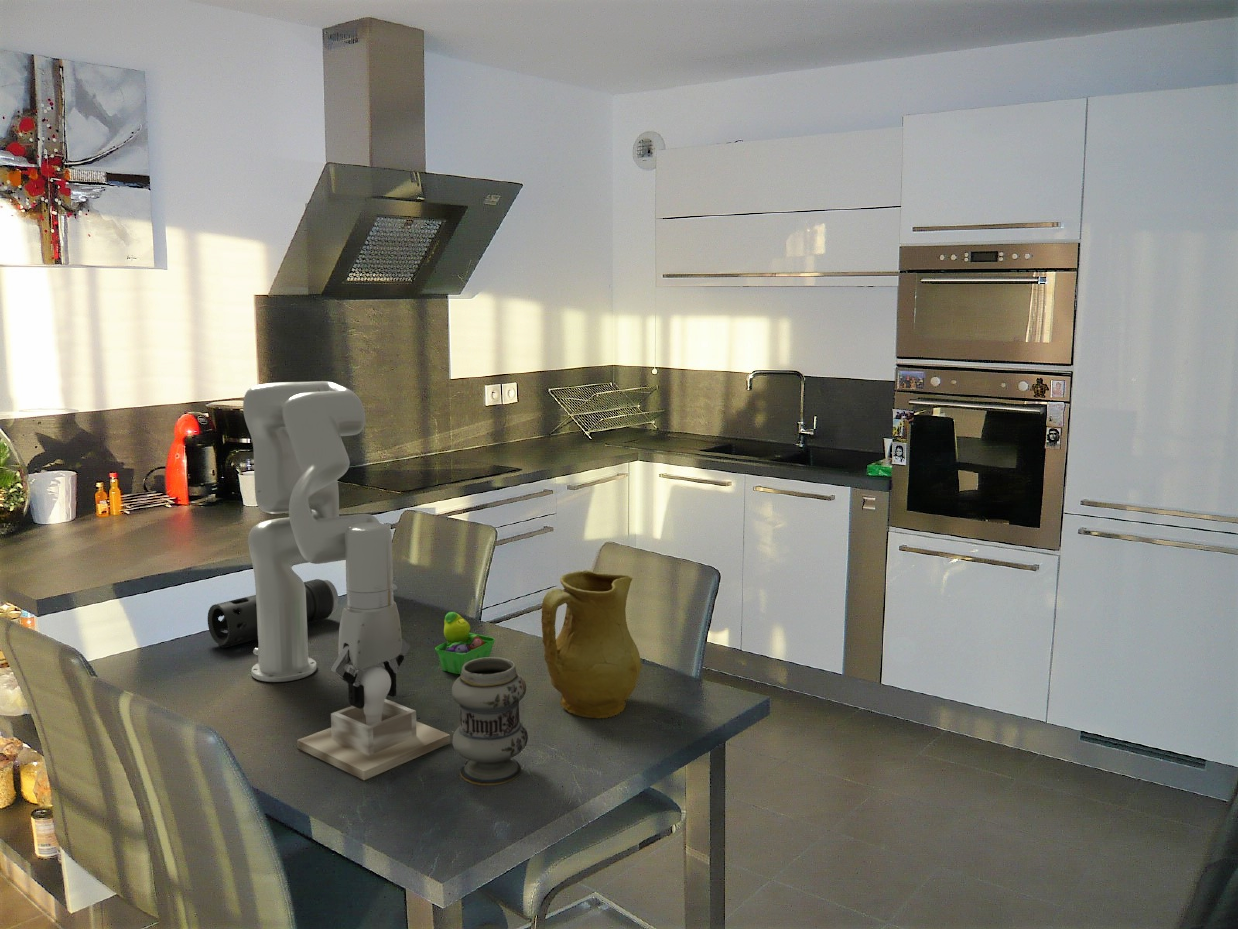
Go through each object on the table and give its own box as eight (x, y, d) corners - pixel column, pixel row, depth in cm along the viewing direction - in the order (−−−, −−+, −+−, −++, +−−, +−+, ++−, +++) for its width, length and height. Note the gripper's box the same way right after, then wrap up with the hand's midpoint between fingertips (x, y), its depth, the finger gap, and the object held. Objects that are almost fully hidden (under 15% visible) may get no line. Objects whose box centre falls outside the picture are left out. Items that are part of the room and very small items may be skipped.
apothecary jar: (463, 753, 170) (462, 650, 167) (534, 757, 169) (534, 653, 166) (443, 787, 158) (442, 677, 155) (519, 791, 157) (519, 680, 154)
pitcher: (644, 723, 183) (647, 589, 179) (541, 725, 181) (541, 590, 177) (636, 688, 200) (638, 564, 196) (541, 689, 198) (541, 565, 194)
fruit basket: (463, 678, 204) (462, 624, 202) (429, 670, 208) (428, 617, 206) (497, 661, 213) (496, 610, 212) (463, 654, 218) (463, 603, 216)
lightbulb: (395, 720, 175) (393, 659, 173) (388, 735, 169) (386, 673, 167) (359, 720, 175) (357, 659, 173) (351, 735, 169) (349, 673, 167)
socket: (297, 748, 171) (296, 714, 170) (383, 715, 185) (382, 684, 184) (364, 780, 160) (363, 744, 159) (450, 743, 174) (449, 709, 173)
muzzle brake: (207, 645, 222) (205, 599, 220) (317, 615, 243) (316, 573, 242) (231, 654, 216) (228, 608, 214) (341, 623, 237) (340, 581, 236)
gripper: (396, 582, 177) (399, 681, 180) (312, 604, 164) (316, 710, 167) (425, 590, 173) (427, 691, 176) (340, 614, 159) (344, 722, 162)
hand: (373, 699), depth 171 cm, fingers closed on lightbulb, 6 cm apart
